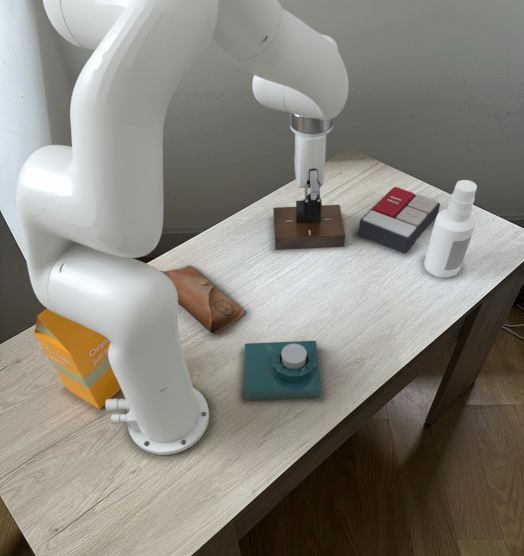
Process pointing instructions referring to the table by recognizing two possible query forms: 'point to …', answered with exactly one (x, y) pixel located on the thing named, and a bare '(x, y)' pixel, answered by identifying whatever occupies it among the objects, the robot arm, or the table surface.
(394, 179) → the table surface
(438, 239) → the spray bottle
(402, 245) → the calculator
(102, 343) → the orange juice
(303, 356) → the grey cylindrical knob
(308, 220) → the dial
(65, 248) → the robot arm
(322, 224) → the selector
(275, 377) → the grey cylindrical knob base
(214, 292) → the sunglasses case
